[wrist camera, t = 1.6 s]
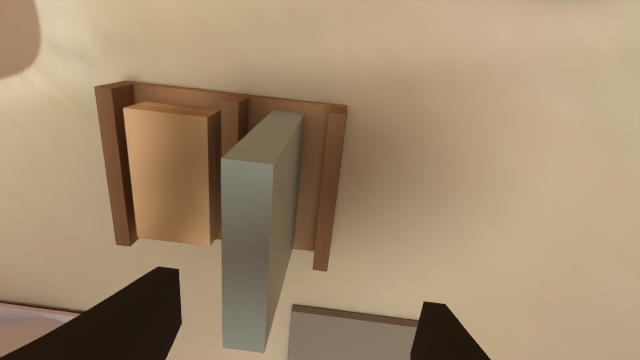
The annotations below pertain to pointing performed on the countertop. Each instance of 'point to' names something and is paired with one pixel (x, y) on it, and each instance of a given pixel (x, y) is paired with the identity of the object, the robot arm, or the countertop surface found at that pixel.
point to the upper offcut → (172, 173)
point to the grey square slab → (258, 226)
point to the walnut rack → (236, 122)
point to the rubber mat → (348, 335)
